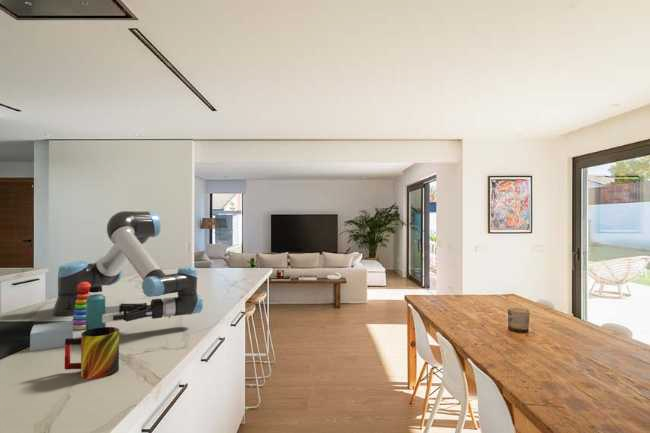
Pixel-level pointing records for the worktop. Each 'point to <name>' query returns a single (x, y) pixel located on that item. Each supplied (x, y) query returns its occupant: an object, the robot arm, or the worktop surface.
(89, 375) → the mug
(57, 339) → the block
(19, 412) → the worktop surface
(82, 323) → the stacking toy
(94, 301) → the beverage bottle
